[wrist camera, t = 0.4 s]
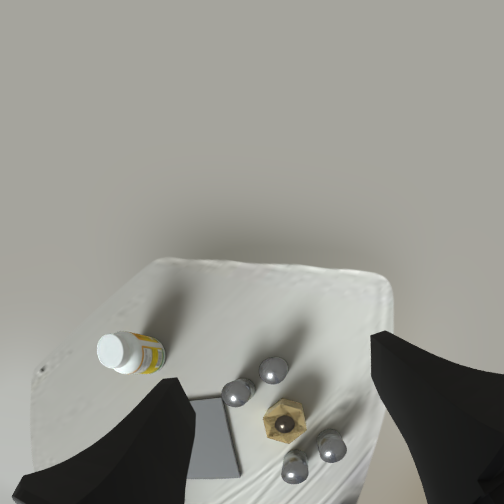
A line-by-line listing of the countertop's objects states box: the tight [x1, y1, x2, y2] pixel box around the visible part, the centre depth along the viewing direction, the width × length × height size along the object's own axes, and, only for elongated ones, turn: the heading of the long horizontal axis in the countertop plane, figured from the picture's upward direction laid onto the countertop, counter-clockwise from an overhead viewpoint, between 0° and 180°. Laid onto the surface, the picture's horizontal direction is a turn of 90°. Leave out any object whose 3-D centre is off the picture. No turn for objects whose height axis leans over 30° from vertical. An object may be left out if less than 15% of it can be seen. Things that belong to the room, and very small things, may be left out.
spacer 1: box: [222, 378, 255, 407], centre depth 30 cm, size 3×3×5 cm
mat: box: [187, 397, 241, 479], centre depth 30 cm, size 12×9×1 cm
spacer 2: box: [259, 357, 288, 384], centre depth 30 cm, size 3×3×5 cm
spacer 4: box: [317, 429, 347, 463], centre depth 26 cm, size 3×3×5 cm
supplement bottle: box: [97, 331, 165, 374], centre depth 31 cm, size 5×5×10 cm
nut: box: [263, 398, 307, 444], centre depth 28 cm, size 5×4×4 cm
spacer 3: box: [281, 450, 308, 484], centre depth 26 cm, size 3×3×5 cm
